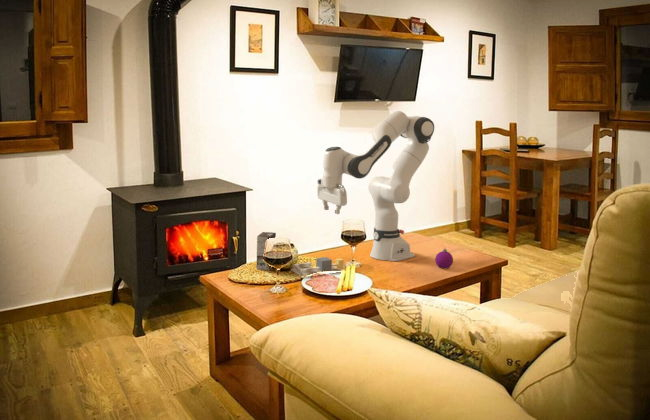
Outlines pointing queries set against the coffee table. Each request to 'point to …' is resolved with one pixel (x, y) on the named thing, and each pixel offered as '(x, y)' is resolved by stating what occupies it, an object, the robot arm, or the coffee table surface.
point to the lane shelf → (309, 269)
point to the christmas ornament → (444, 259)
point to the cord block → (328, 263)
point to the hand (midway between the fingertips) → (331, 211)
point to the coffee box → (260, 249)
